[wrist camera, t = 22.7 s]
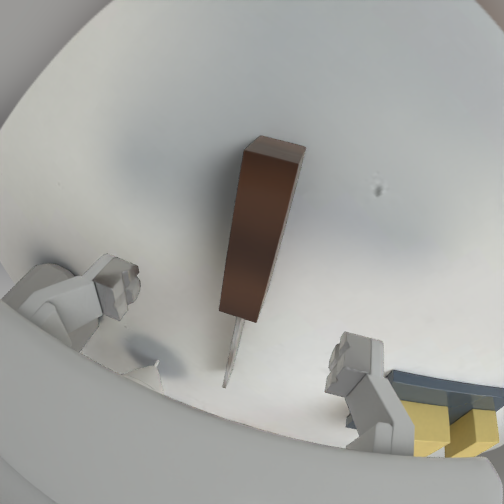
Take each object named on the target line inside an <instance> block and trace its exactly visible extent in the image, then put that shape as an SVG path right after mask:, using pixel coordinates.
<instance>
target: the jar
mask: <svg viewBox="0 0 504 504" xmlns="http://www.w3.org/2000/svg"><path fill="white" fill-rule="evenodd" d="M73 277H75V276H74V275H73V274H72V273H71V272H70V271H68V270H67V269H65V268H63V267H61V266H59V265H57V264H48V263H46V264H40V265H36V266H35V267H34V268H33V269H32V270H30V271H29V272H28V273H27V274H26V275H25V276H24V277H23V278H22V279H21V280H20V281H19V282H18V283H17V284H16V285H15V286H14V287H13V288H12V289H11V290H10V291H9V292H8V293H7V294H6V295H5V296H4V297H3V298H2V299H1V300H2V301H3V302H5V303H6V304H7V305H9V306H10V307H11V308H13V309H14V310H15V311H16V310H17V309H18V308H19V307H20V305H21V304H22V303H23V302H24V301H25V300H26V299H27V298H28V297H29V296H30V295H31V294H32V293H33V292H34V291H37V290H40V289H42V288H45V287H48V286H51V285H53V284H56V283H59V282H62V281H64V280H67V279H70V278H73ZM98 327H99V323H98V318H96V319H94V320H93V321H91V322H89V323H87V324H85V325H83V326H81V327H79V328H78V329H76V330H74V331H72V332H70V333H68V336H69V338H70V340H71V342H72V346H71V348H73V349H74V350H76V351H78V352H80V351H81V349H82V348H83V347H84V345H85V344H86V343H87V341H88V340H89V339H90V337H91V336H92V335H93V333H94V332H95V331H96V329H97V328H98Z"/></svg>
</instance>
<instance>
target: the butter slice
mask: <svg viewBox="0 0 504 504" xmlns="http://www.w3.org/2000/svg"><path fill="white" fill-rule="evenodd" d="M449 427H450V443H449V444H447V445H445V458H461V457H475V456H477V455H479V454H480V453H482V452H484V451H486V450H487V449H489V448H491V447H492V446H494V445H495V444H497V443H499V433H498V426H497V419H496V412H495V411H492V410H480V409H472V410H471V411H469V412H468V413H467V414H465V415H464V416H463V417H461V418H460V419H458V420H457V421H456V422H454V423H453V424H451V425H450V426H449Z"/></svg>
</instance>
